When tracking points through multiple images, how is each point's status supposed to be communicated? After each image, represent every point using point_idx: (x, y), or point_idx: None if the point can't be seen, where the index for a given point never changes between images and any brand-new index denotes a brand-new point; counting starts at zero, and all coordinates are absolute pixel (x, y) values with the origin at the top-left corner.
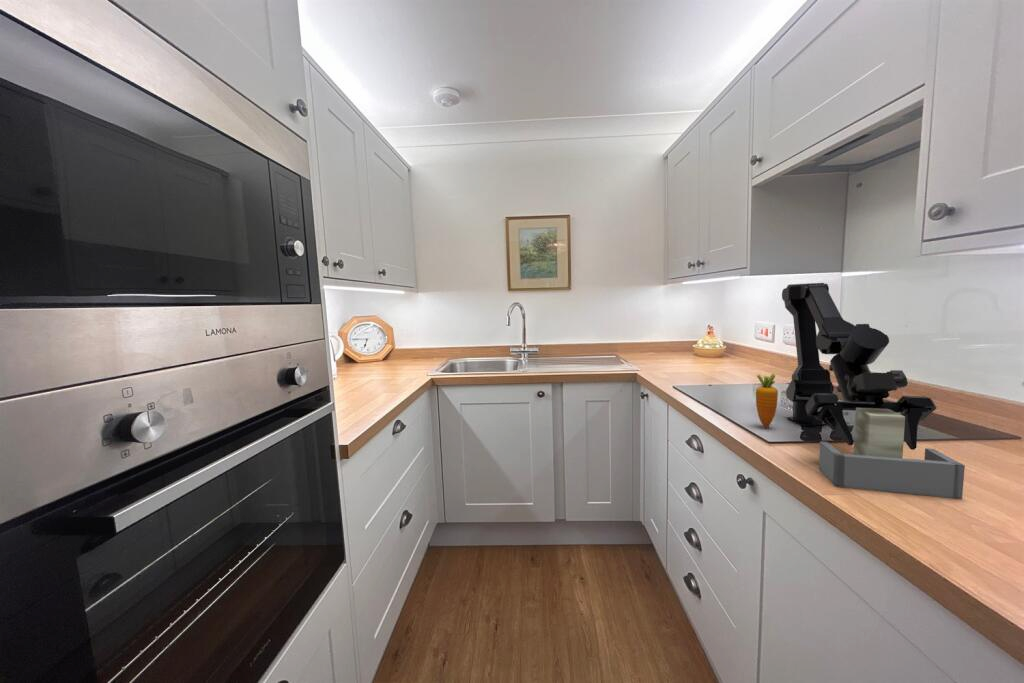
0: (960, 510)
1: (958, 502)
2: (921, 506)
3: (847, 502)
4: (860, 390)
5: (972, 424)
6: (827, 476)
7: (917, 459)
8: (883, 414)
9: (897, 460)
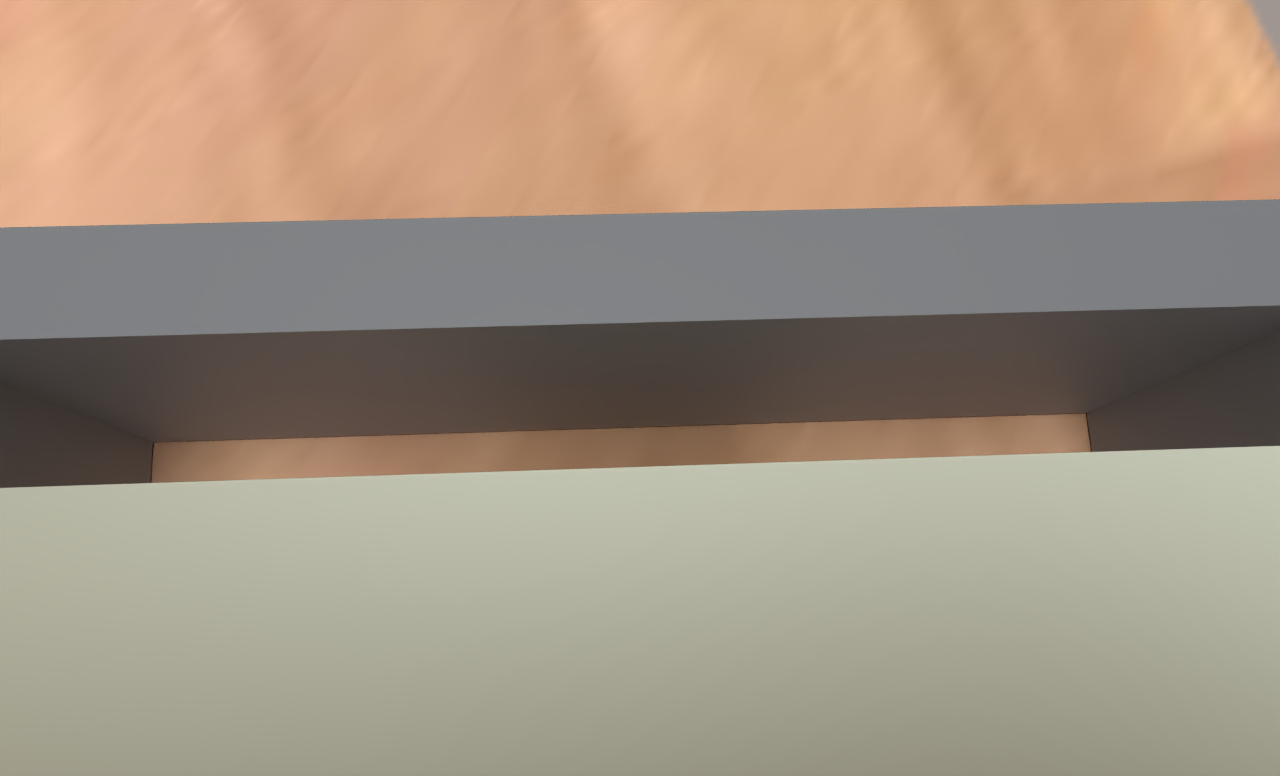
0: (263, 126)
1: None
2: (549, 117)
3: (1133, 32)
4: None
5: None
6: None
7: (328, 327)
8: (834, 751)
9: (644, 219)
